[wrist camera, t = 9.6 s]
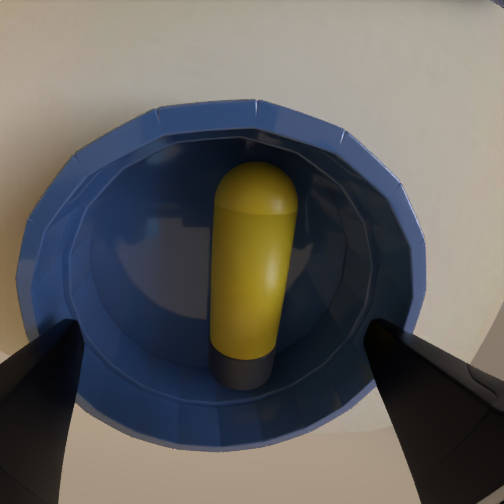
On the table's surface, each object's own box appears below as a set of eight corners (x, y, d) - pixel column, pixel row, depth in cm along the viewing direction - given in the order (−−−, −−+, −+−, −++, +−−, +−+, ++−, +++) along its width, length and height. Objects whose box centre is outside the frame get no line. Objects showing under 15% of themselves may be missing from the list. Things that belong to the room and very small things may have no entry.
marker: (236, 348, 14) (281, 375, 12) (195, 375, 12) (242, 410, 10) (253, 155, 10) (320, 168, 9) (196, 157, 8) (270, 170, 7)
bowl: (257, 392, 16) (274, 465, 11) (52, 308, 11) (10, 381, 7) (401, 221, 12) (474, 270, 8) (165, 55, 8) (135, 2, 4)
